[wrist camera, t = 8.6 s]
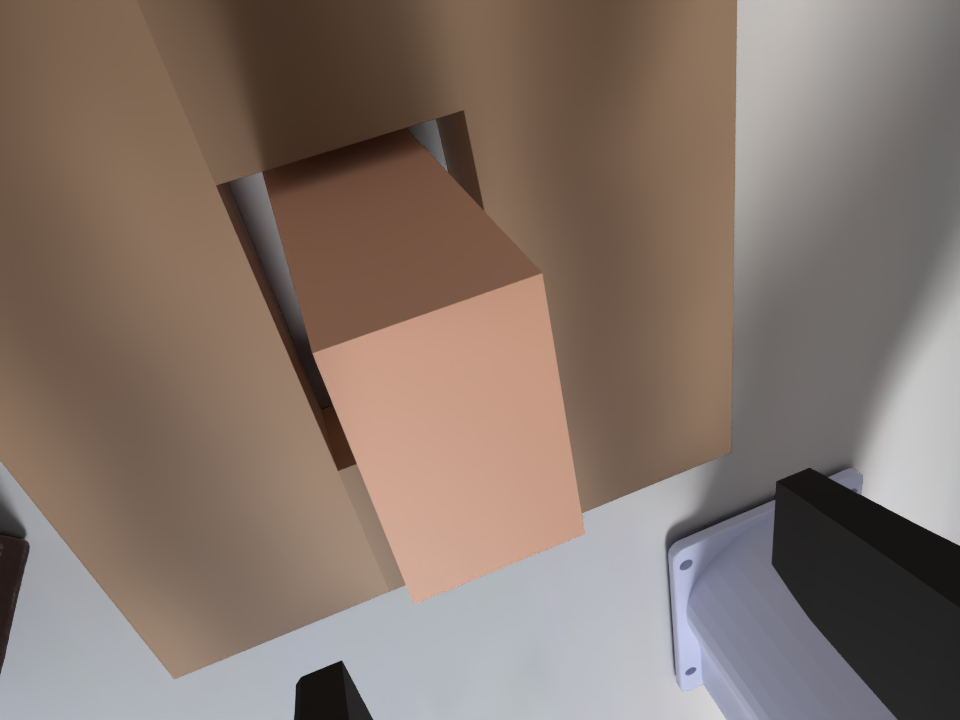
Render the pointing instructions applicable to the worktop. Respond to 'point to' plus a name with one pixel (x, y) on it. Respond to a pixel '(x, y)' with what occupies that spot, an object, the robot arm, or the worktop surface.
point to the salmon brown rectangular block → (430, 358)
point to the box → (10, 584)
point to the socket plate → (252, 305)
